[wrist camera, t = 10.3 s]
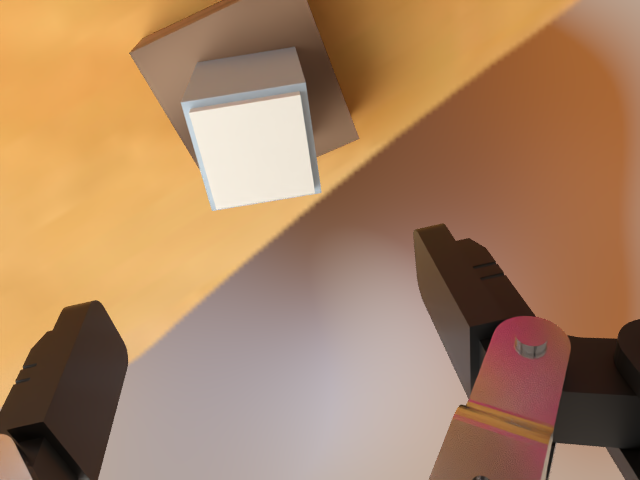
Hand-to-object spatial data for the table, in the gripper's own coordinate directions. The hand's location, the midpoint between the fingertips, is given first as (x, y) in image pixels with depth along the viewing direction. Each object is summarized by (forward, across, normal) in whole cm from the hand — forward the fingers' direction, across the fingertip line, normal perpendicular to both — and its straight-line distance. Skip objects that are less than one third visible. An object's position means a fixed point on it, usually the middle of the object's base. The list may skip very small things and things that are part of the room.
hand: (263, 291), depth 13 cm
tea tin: (+16, 0, 0) cm, 16 cm away
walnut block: (+20, 0, 0) cm, 20 cm away
